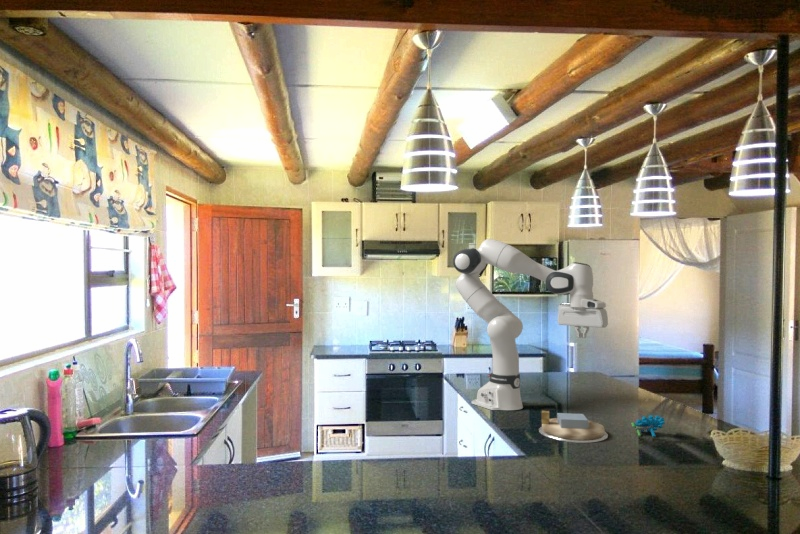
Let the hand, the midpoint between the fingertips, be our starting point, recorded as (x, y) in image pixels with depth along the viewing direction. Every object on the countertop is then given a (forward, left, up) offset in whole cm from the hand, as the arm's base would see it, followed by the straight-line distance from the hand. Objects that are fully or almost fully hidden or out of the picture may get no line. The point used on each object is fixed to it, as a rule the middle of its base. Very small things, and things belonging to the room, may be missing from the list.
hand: (582, 337), depth 211 cm
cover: (+10, -24, -28) cm, 38 cm away
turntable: (+10, -24, -31) cm, 41 cm away
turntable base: (+10, -24, -31) cm, 41 cm away
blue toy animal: (+28, -5, -31) cm, 42 cm away
